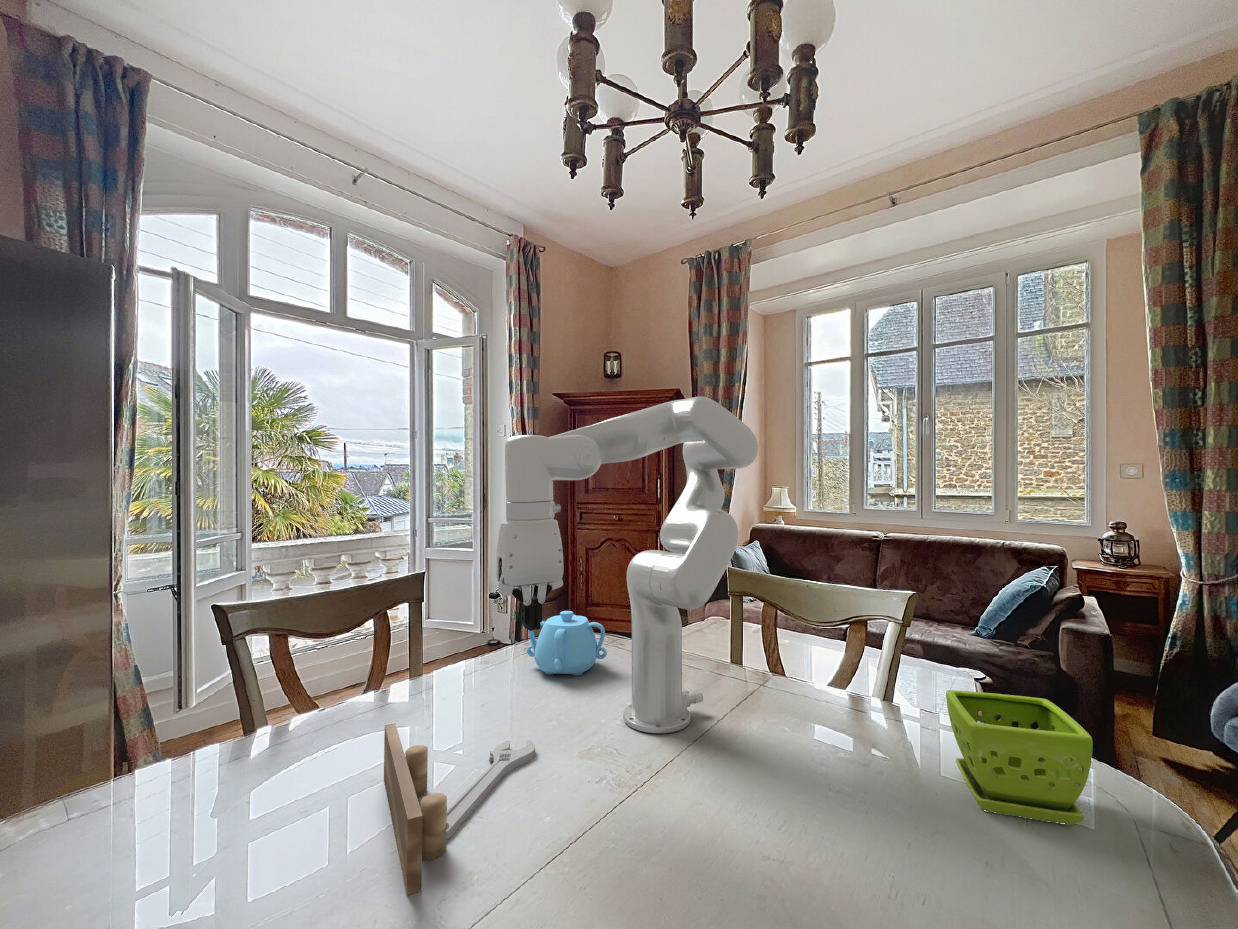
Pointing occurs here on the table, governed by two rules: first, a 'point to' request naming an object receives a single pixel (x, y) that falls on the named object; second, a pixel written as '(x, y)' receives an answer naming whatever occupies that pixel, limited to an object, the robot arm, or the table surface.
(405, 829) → the tool rack
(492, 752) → the adjustable wrench
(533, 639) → the decorative pot
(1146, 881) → the table surface
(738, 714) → the table surface
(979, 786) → the flower pot
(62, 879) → the table surface
